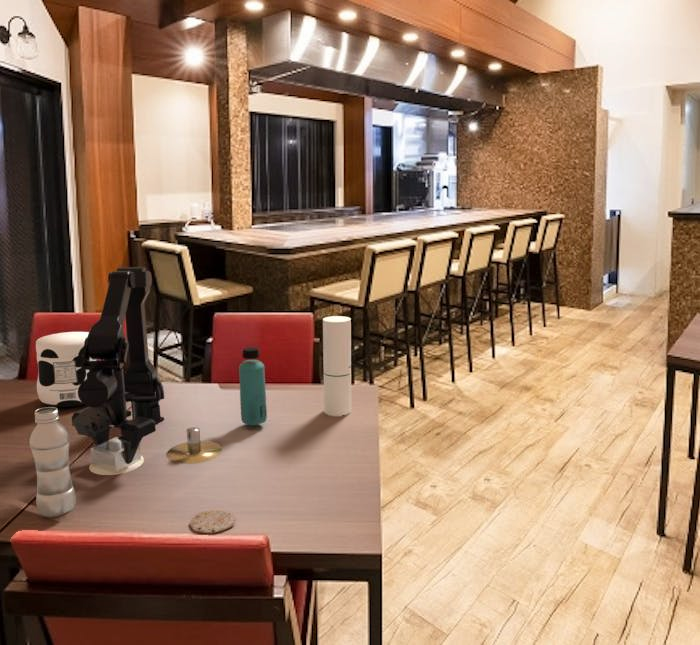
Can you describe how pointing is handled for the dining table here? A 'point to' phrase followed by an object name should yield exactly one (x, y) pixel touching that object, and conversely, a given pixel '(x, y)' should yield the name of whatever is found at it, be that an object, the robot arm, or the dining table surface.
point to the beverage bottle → (252, 388)
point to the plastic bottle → (52, 464)
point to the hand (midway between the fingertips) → (116, 459)
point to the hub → (194, 449)
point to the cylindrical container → (337, 365)
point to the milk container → (60, 368)
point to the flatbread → (212, 521)
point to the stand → (114, 447)
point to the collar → (111, 457)
